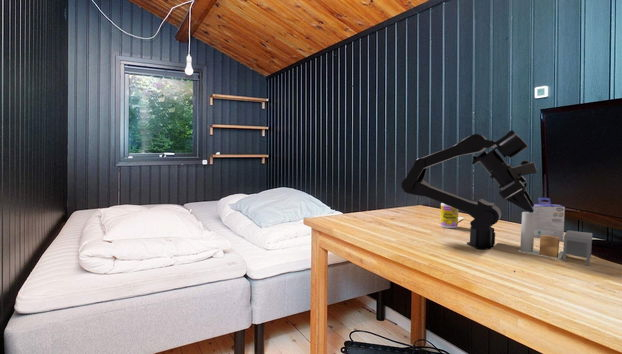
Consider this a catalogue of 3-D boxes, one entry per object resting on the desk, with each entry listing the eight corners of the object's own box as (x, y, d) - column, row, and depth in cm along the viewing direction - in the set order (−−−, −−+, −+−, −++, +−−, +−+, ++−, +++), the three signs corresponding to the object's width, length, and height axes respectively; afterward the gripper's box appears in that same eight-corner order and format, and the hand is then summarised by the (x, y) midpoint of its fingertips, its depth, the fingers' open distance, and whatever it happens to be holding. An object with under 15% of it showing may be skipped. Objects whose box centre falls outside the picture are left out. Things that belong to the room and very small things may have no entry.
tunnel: (562, 265, 87) (564, 236, 86) (566, 257, 94) (567, 230, 93) (588, 270, 83) (590, 239, 83) (590, 261, 90) (592, 233, 89)
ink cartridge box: (555, 238, 116) (558, 197, 115) (564, 242, 110) (567, 199, 109) (525, 236, 118) (527, 197, 117) (532, 240, 112) (534, 199, 111)
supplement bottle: (440, 227, 131) (441, 196, 130) (440, 224, 137) (441, 194, 136) (458, 229, 129) (459, 197, 128) (457, 226, 135) (458, 195, 134)
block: (539, 254, 92) (540, 237, 92) (541, 251, 95) (542, 234, 95) (556, 257, 90) (557, 239, 89) (558, 254, 93) (559, 237, 92)
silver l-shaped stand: (517, 254, 95) (519, 213, 94) (521, 250, 100) (523, 210, 99) (560, 262, 88) (563, 218, 88) (563, 257, 93) (565, 215, 92)
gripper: (520, 152, 89) (562, 199, 85) (523, 150, 104) (558, 189, 100) (483, 176, 95) (521, 220, 91) (491, 170, 110) (523, 209, 106)
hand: (532, 209), depth 97 cm, fingers open, 9 cm apart
